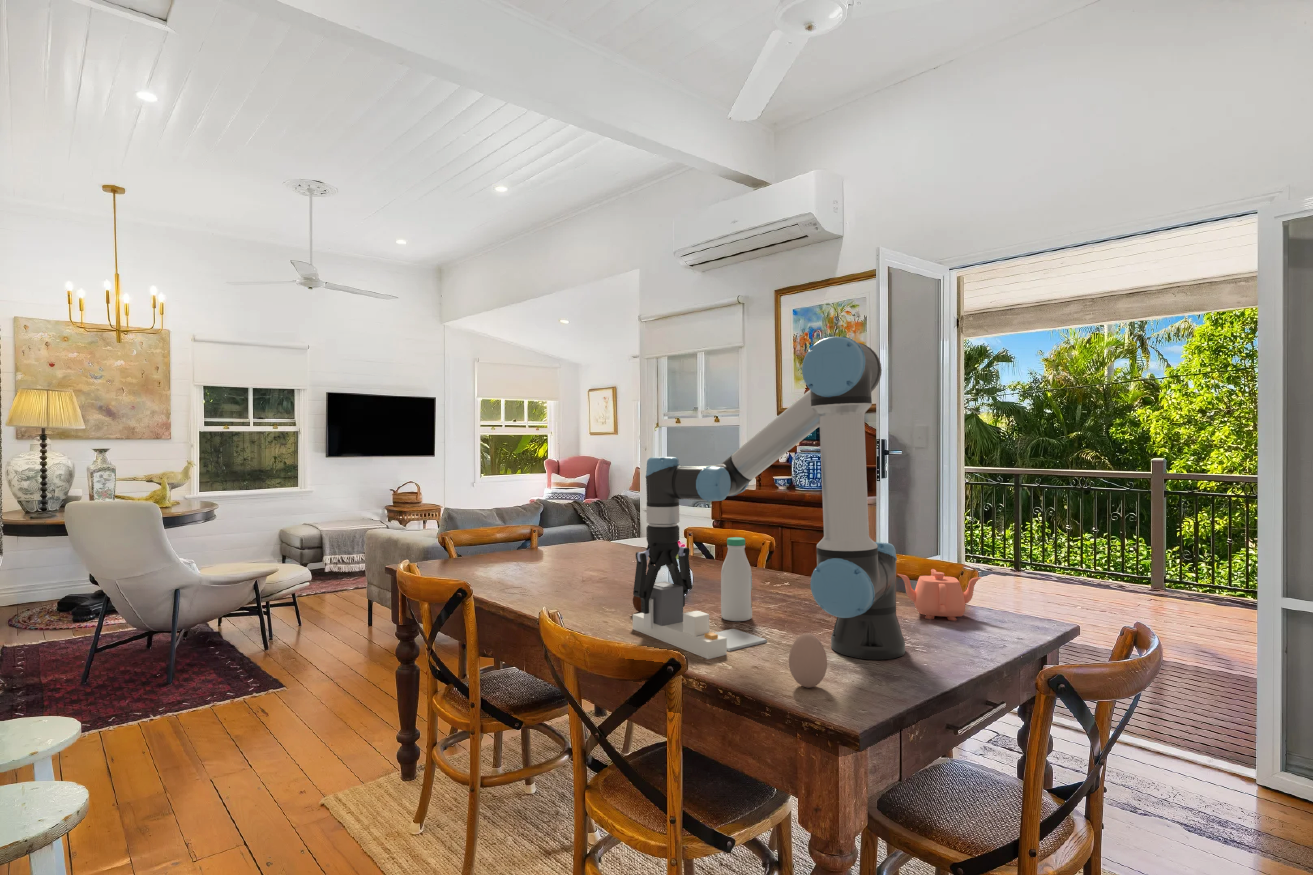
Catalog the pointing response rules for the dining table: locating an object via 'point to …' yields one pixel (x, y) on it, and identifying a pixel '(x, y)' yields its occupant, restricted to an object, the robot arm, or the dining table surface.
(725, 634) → the mat
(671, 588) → the block
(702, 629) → the white plug
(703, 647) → the power strip
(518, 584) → the dining table surface
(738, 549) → the milk bottle
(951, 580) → the teapot
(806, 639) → the egg
